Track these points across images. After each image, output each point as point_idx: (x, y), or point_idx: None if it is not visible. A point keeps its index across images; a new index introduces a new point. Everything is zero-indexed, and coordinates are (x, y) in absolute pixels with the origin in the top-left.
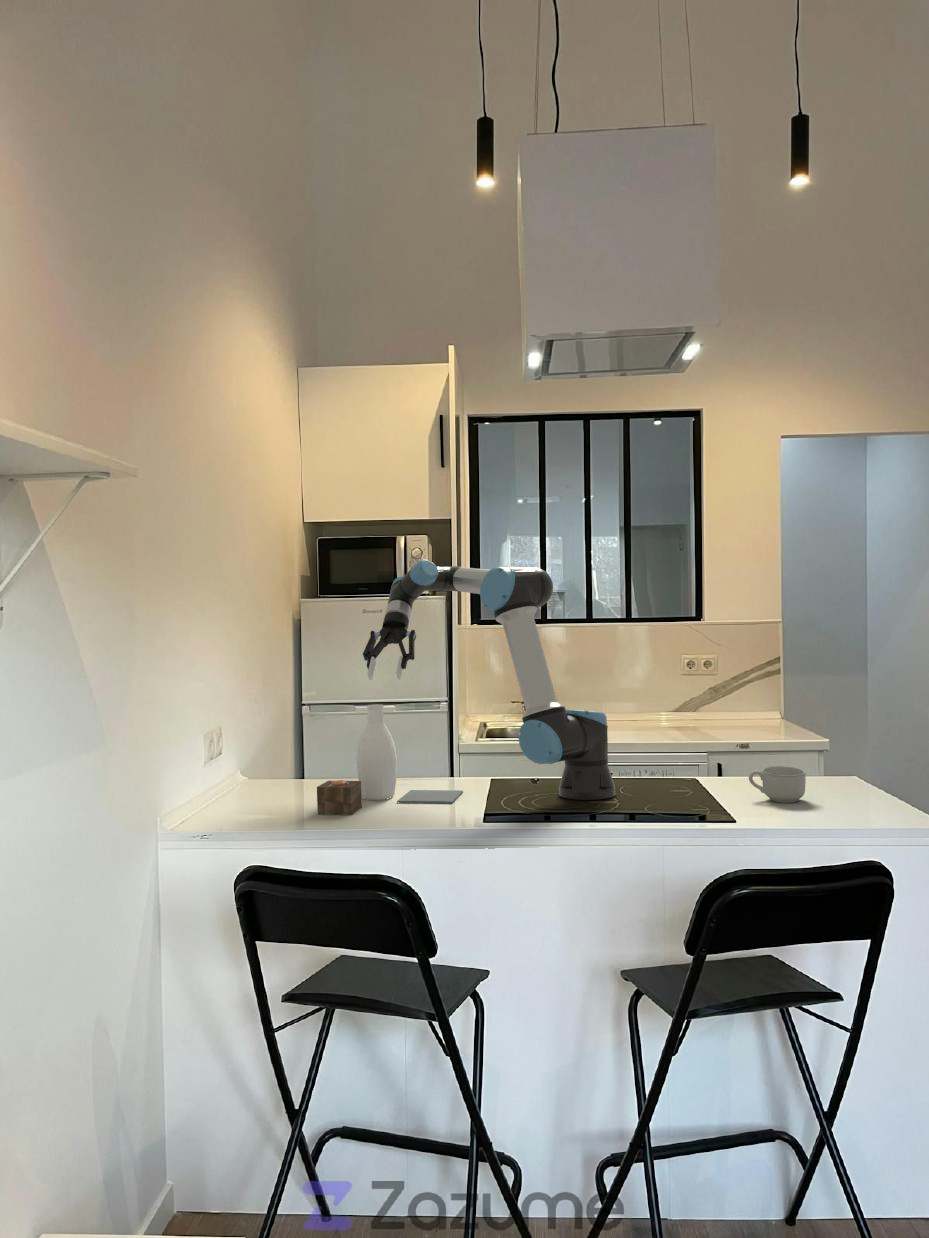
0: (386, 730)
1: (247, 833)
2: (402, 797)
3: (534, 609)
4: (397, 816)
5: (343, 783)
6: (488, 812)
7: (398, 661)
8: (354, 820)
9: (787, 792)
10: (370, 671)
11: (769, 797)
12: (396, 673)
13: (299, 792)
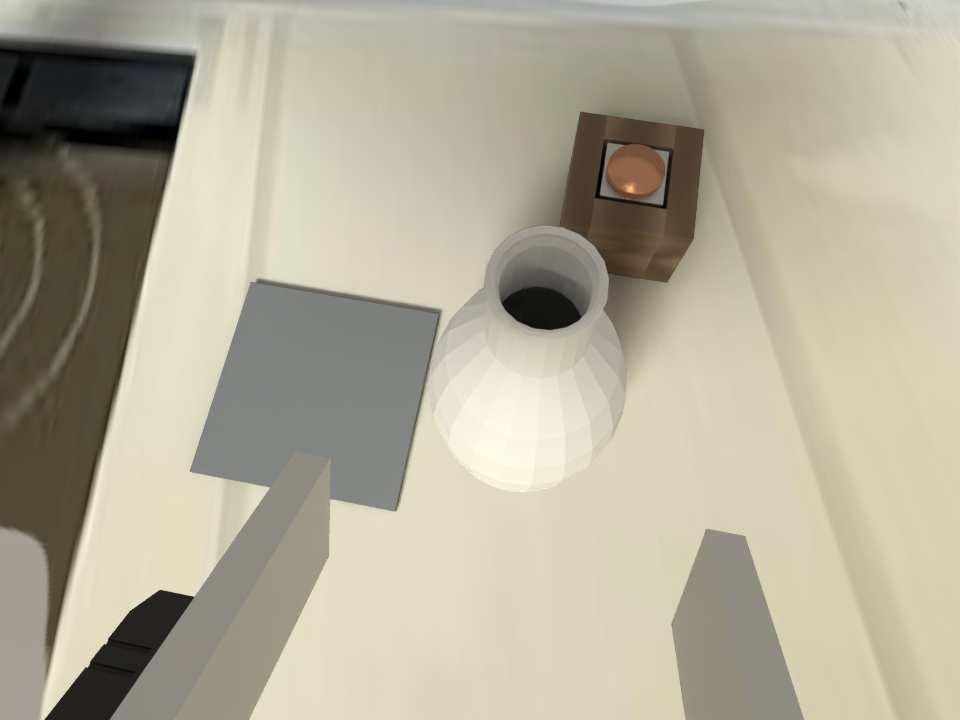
0: (469, 314)
1: (807, 4)
2: (422, 368)
3: None
4: (428, 138)
5: (615, 151)
6: (160, 159)
7: (223, 638)
8: (548, 105)
9: None
10: (713, 558)
11: None
12: (324, 462)
13: (865, 571)
